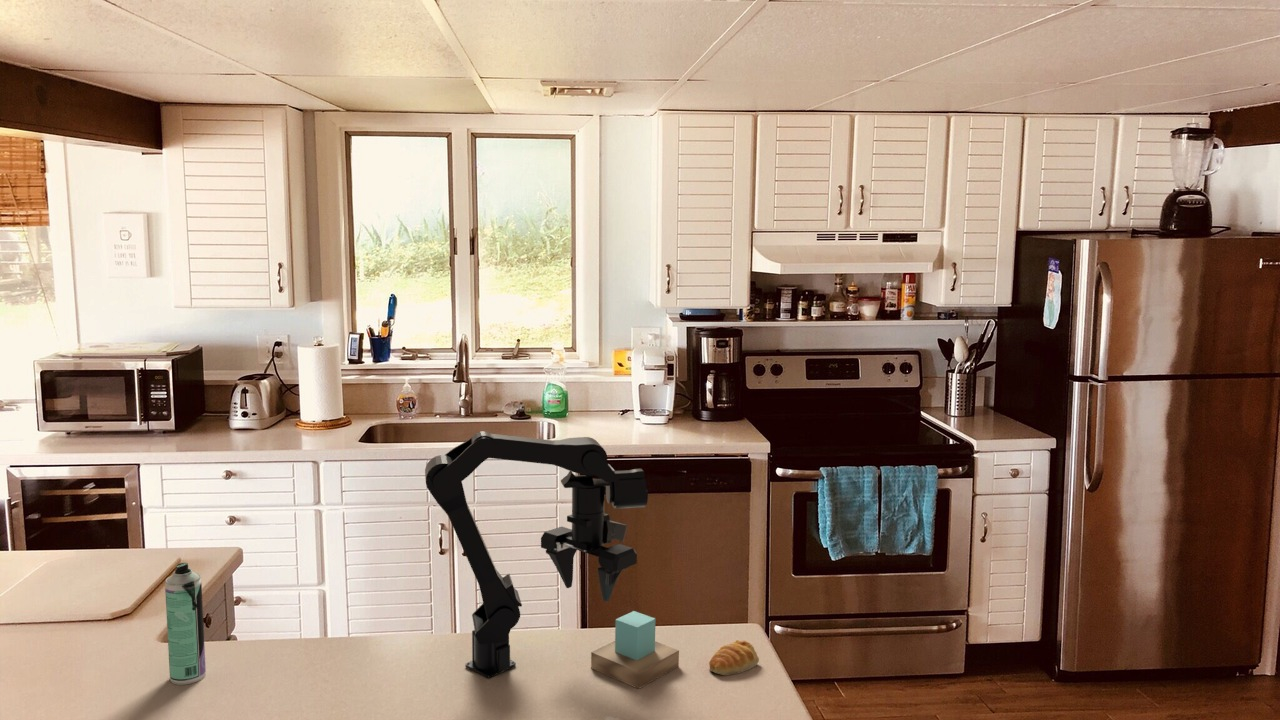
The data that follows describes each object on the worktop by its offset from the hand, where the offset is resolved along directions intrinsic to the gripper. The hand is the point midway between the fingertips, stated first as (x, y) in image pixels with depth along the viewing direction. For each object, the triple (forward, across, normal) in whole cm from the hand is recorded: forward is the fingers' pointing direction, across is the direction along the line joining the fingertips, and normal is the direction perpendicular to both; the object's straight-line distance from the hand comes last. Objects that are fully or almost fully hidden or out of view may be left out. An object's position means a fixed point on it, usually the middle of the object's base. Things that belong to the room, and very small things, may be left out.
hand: (587, 594), depth 165 cm
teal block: (+9, -9, -3) cm, 13 cm away
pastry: (+12, -22, -16) cm, 29 cm away
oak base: (+12, -9, -3) cm, 15 cm away
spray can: (+12, +45, +51) cm, 69 cm away
